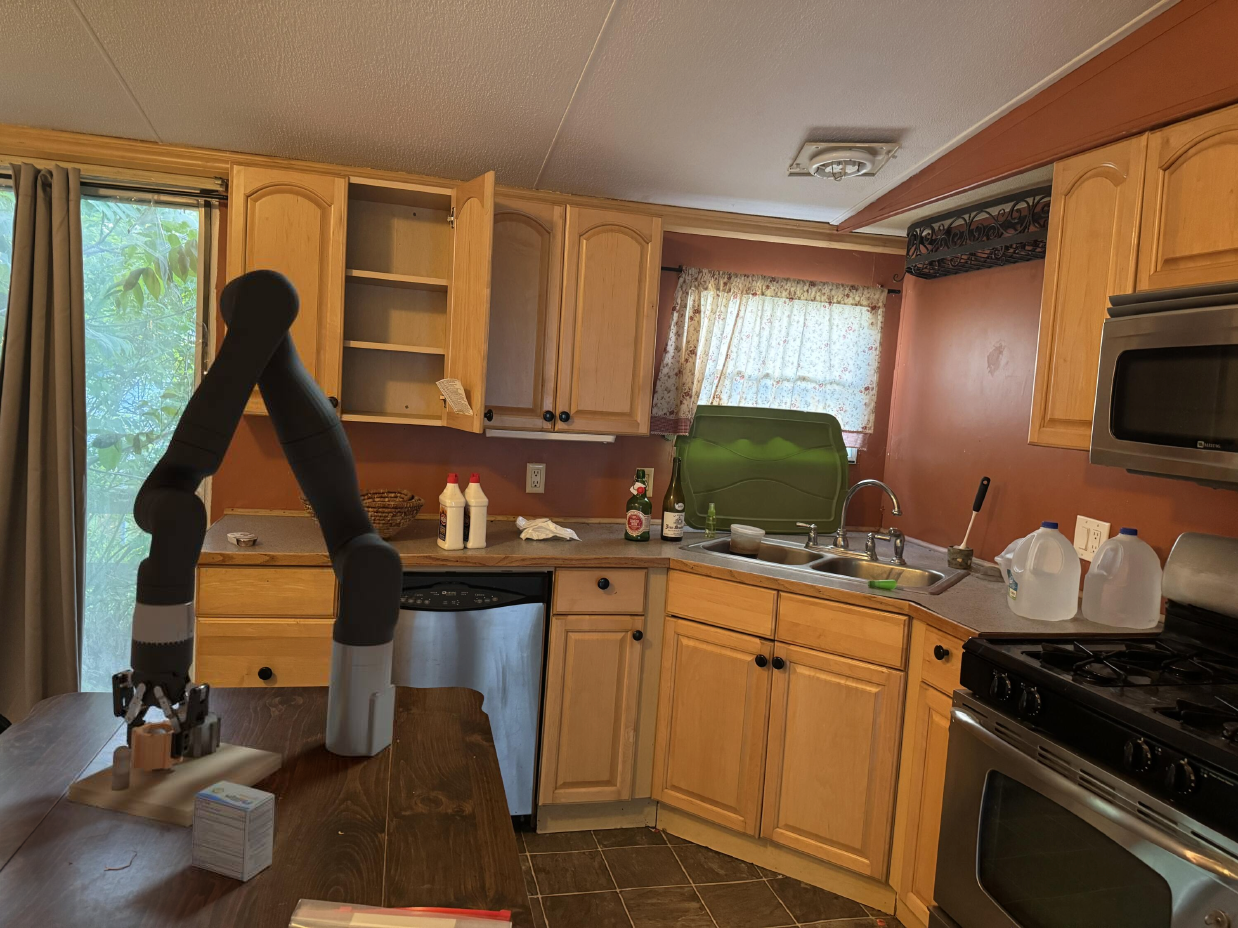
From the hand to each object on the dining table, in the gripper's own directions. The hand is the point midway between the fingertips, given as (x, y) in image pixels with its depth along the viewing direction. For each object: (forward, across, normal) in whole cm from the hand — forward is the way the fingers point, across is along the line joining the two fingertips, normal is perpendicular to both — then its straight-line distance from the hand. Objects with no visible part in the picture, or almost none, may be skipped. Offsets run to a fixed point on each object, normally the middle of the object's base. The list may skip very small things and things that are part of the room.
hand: (157, 752), depth 117 cm
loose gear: (+1, 0, 0) cm, 1 cm away
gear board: (+4, -3, -1) cm, 5 cm away
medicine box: (+5, -23, +14) cm, 27 cm away
